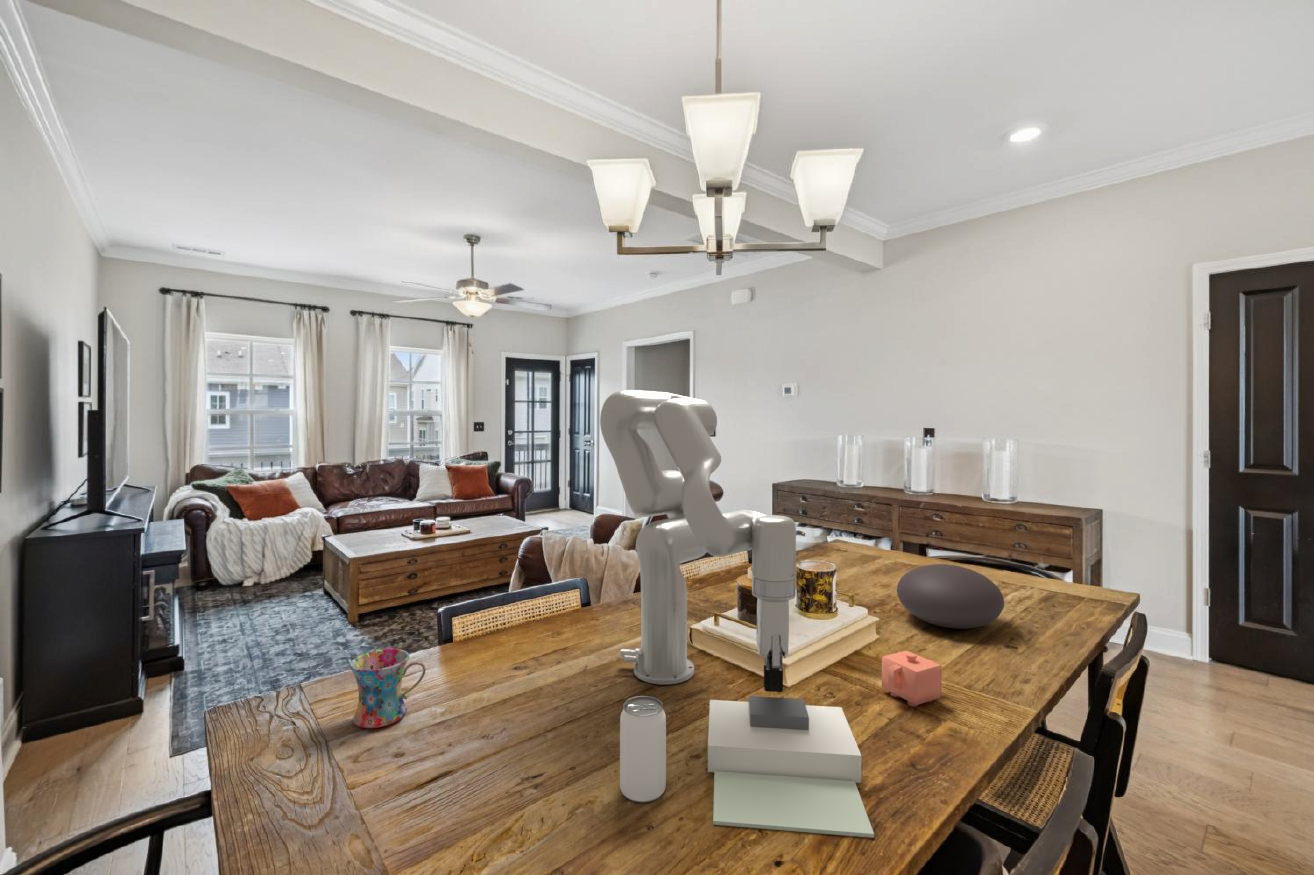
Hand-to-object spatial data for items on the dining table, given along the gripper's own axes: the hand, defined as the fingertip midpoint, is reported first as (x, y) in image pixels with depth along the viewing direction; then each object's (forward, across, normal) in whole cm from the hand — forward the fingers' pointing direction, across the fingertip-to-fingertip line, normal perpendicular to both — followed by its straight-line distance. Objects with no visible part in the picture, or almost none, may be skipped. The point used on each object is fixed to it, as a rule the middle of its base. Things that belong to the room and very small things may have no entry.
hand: (773, 689), depth 100 cm
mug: (+5, +8, -67) cm, 68 cm away
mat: (+5, +23, 0) cm, 24 cm away
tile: (+1, +9, 0) cm, 9 cm away
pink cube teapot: (+5, -10, +27) cm, 29 cm away
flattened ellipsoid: (+5, -52, +49) cm, 72 cm away
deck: (+5, +11, 0) cm, 12 cm away
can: (+5, +22, -20) cm, 31 cm away
